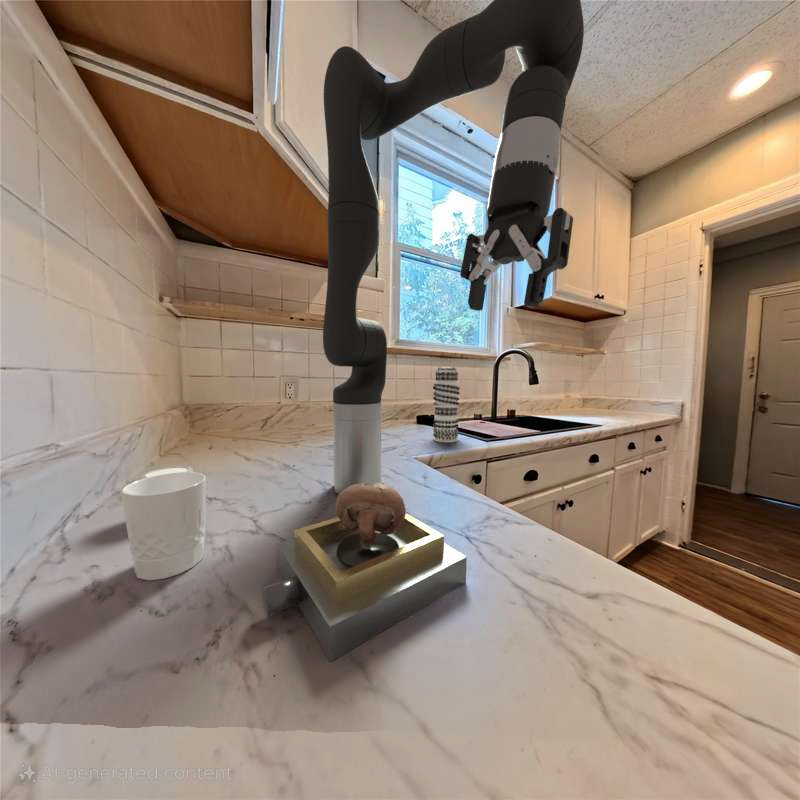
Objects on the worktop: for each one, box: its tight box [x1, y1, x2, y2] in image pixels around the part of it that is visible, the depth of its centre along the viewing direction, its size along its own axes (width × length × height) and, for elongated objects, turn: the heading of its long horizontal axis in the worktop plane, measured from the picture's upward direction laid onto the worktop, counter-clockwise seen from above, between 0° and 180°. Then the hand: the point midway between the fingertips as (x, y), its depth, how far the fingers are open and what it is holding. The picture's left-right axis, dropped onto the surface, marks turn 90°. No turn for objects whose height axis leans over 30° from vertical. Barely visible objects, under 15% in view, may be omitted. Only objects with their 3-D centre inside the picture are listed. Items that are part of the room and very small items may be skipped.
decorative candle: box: [432, 366, 461, 443], centre depth 107 cm, size 9×9×25 cm
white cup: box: [121, 471, 207, 581], centre depth 37 cm, size 8×8×10 cm
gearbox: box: [262, 513, 468, 663], centre depth 35 cm, size 17×19×5 cm
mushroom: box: [334, 482, 407, 550], centre depth 35 cm, size 8×6×8 cm
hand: (501, 308), depth 41 cm, fingers open, 8 cm apart
